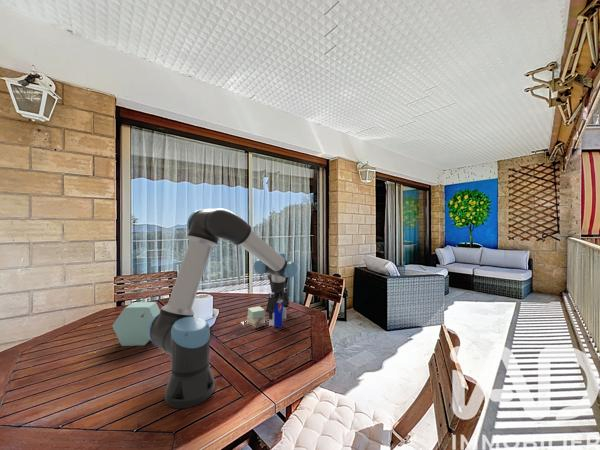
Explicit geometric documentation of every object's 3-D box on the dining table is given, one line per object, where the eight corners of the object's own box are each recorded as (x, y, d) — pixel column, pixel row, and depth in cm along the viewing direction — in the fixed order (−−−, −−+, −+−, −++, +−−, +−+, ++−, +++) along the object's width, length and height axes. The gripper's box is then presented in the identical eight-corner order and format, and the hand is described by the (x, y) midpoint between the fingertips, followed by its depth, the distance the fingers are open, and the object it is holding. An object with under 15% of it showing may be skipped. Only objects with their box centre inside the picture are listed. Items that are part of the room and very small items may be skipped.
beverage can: (278, 329, 135) (279, 301, 135) (271, 327, 138) (271, 299, 138) (284, 326, 140) (284, 299, 139) (276, 324, 142) (277, 297, 142)
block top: (252, 319, 137) (252, 312, 137) (247, 315, 143) (247, 308, 143) (264, 317, 141) (264, 309, 141) (259, 313, 147) (259, 306, 147)
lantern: (289, 318, 152) (290, 267, 151) (264, 317, 152) (265, 267, 151) (290, 309, 166) (291, 263, 166) (267, 309, 167) (268, 263, 166)
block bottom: (254, 327, 137) (254, 319, 137) (247, 323, 142) (247, 316, 142) (264, 323, 142) (265, 316, 142) (257, 319, 147) (257, 313, 147)
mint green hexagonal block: (146, 347, 124) (171, 311, 125) (137, 355, 116) (164, 317, 117) (115, 328, 122) (140, 292, 123) (104, 336, 114) (132, 297, 115)
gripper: (270, 286, 127) (269, 330, 127) (295, 278, 146) (295, 316, 146) (259, 284, 131) (258, 327, 131) (285, 276, 150) (284, 314, 150)
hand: (277, 321), depth 139 cm, fingers open, 10 cm apart
